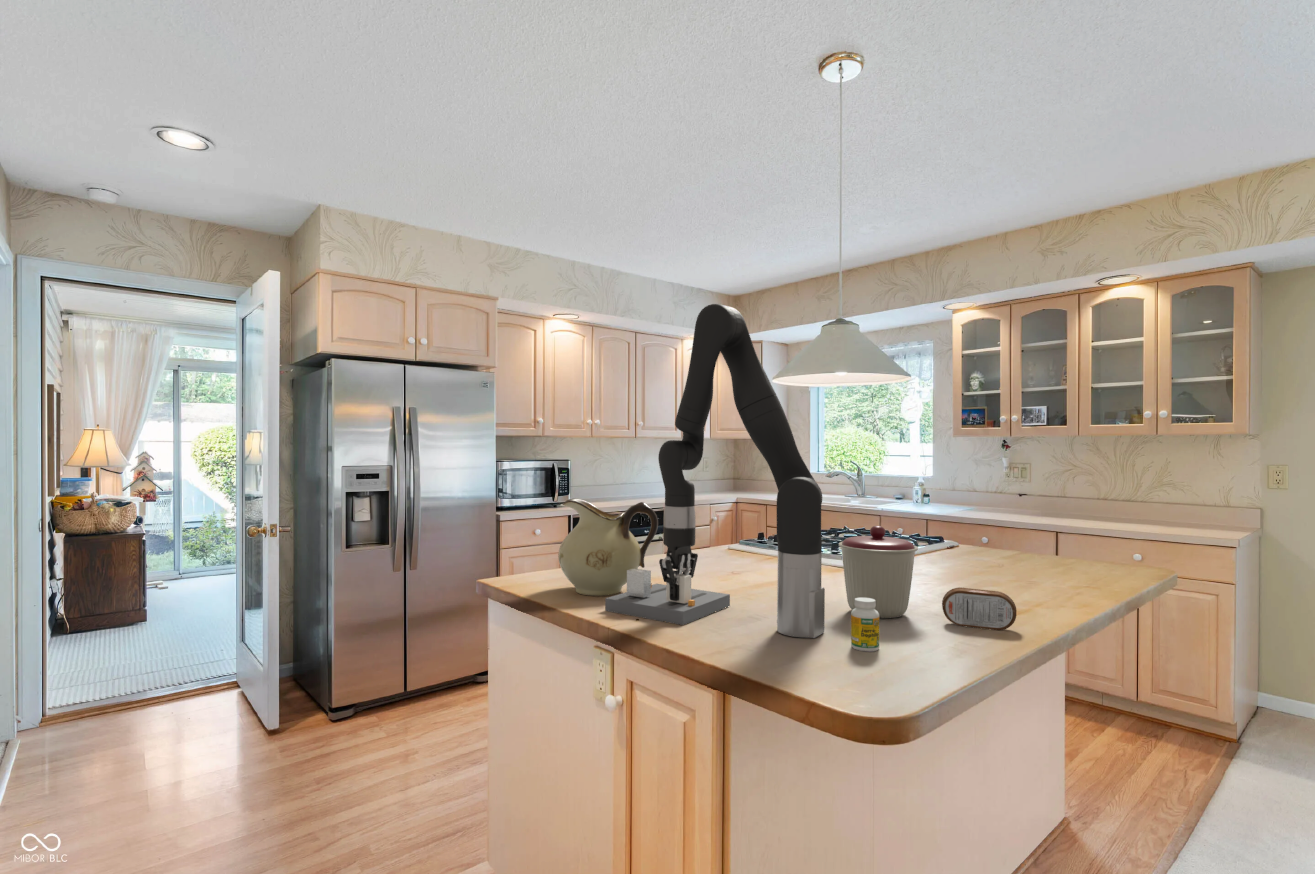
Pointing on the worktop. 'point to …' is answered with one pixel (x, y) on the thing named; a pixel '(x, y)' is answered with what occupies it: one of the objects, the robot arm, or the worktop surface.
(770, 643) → the worktop surface
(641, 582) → the light grey block
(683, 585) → the block
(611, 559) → the pitcher
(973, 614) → the tin
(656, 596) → the grey slotted tray
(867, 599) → the supplement bottle
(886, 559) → the canister
